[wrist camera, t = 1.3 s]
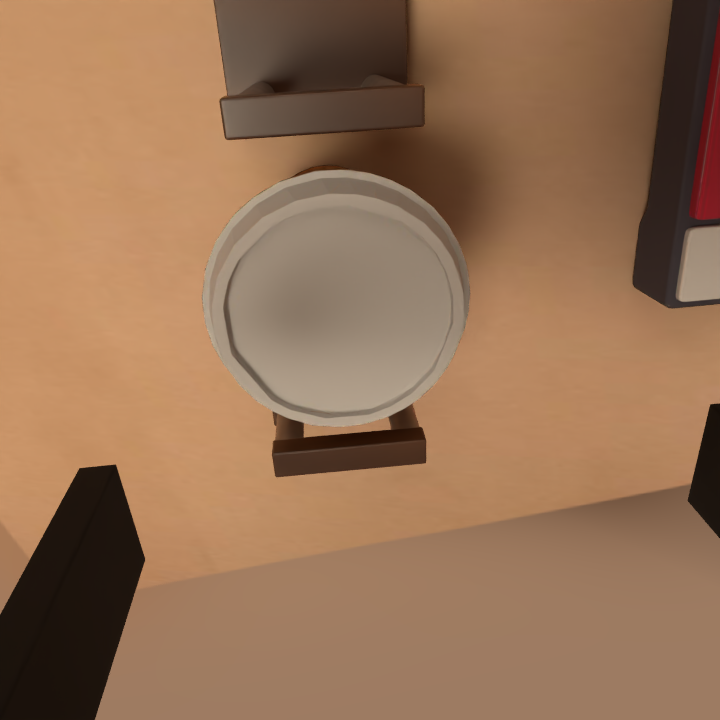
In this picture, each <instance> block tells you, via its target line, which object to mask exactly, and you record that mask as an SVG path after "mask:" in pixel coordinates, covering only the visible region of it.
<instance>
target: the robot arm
mask: <svg viewBox="0 0 720 720" xmlns="http://www.w3.org/2000/svg"><path fill="white" fill-rule="evenodd" d="M688 502H689V503H690V504H691V505H692V506H693V508H694V509H695V510H696V511H697V512H698V513H699V514H700V516H701V517H702V518H703V519H704V520H705V522H706V523H707V524H708V525H709V526H710V527H711V529H712V530H713V531H714V532H715V533H716V534H717V536H718V537H719V538H720V404H710V408H709V412H708V416H707V421H706V425H705V429H704V433H703V438H702V442H701V446H700V450H699V455H698V459H697V463H696V467H695V472H694V476H693V480H692V484H691V489H690V493H689V497H688ZM144 562H145V557H144V554H143V551H142V547H141V544H140V541H139V538H138V534H137V531H136V528H135V525H134V522H133V518H132V515H131V512H130V509H129V505H128V502H127V499H126V496H125V492H124V489H123V486H122V483H121V480H120V476H119V473H118V470H117V467H116V465H107V466H97V467H87V468H79V470H78V472H77V474H76V476H75V478H74V479H73V481H72V483H71V485H70V487H69V489H68V491H67V492H66V494H65V496H64V498H63V500H62V502H61V503H60V505H59V507H58V509H57V511H56V513H55V515H54V516H53V518H52V520H51V522H50V524H49V526H48V527H47V529H46V531H45V533H44V535H43V537H42V539H41V540H40V542H39V544H38V546H37V548H36V550H35V551H34V553H33V555H32V557H31V559H30V561H29V563H28V565H27V566H26V568H25V570H24V572H23V574H22V575H21V578H20V579H19V581H18V583H17V585H16V587H15V589H14V590H13V592H12V594H11V596H10V598H9V599H8V602H7V603H6V605H5V607H4V609H3V611H2V613H1V614H0V720H95V717H96V714H97V711H98V708H99V705H100V701H101V698H102V695H103V692H104V689H105V686H106V682H107V679H108V676H109V673H110V670H111V666H112V663H113V660H114V657H115V654H116V651H117V647H118V644H119V641H120V637H121V635H122V631H123V628H124V625H125V622H126V619H127V616H128V612H129V609H130V606H131V603H132V600H133V597H134V593H135V590H136V587H137V584H138V581H139V577H140V574H141V571H142V568H143V565H144Z"/></svg>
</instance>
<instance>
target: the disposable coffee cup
mask: <svg viewBox="0 0 720 720" xmlns="http://www.w3.org/2000/svg"><path fill="white" fill-rule="evenodd" d="M469 300H470V286H469V275H468V270H467V265H466V262H465V259H464V256H463V253H462V250H461V247H460V245H459V243H458V241H457V239H456V238H455V236H454V234H453V232H452V231H451V229H450V227H449V226H448V224H447V223H446V222H445V221H444V219H443V218H442V217H441V216H440V215H439V213H438V212H437V211H436V210H435V209H434V208H433V207H432V206H431V205H430V204H428V203H427V202H426V201H425V200H423V199H422V198H421V197H420V196H418V195H417V194H416V193H414V192H413V191H412V190H410V189H408V188H406V187H404V186H402V185H400V184H398V183H396V182H394V181H392V180H389V179H387V178H384V177H381V176H379V175H376V174H371V173H366V172H360V171H354V170H350V169H347V168H343V167H339V166H318V167H312V168H309V169H307V170H305V171H302V172H300V173H298V174H296V175H295V176H293V177H292V178H290V179H286V180H283V181H280V182H278V183H277V184H275V185H273V186H271V187H270V188H268V189H266V190H264V191H262V192H261V193H259V194H258V195H256V196H255V197H254V198H252V199H251V200H250V201H249V202H248V203H246V204H245V205H244V206H243V207H241V208H240V209H239V210H238V211H237V213H236V214H235V215H234V216H233V217H232V218H231V220H230V221H229V222H228V224H227V225H226V226H225V228H224V229H223V231H222V232H221V234H220V236H219V237H218V239H217V240H216V242H215V245H214V247H213V250H212V253H211V255H210V258H209V260H208V263H207V266H206V268H205V276H204V285H203V294H202V301H203V310H204V318H205V324H206V327H207V330H208V333H209V336H210V339H211V342H212V345H213V347H214V348H215V350H216V352H217V354H218V355H219V357H220V359H221V361H222V362H223V364H224V365H225V366H226V368H227V369H228V370H229V371H230V373H231V374H232V375H233V377H234V378H235V379H236V381H237V382H238V384H239V385H240V386H241V387H242V388H243V389H244V390H245V391H246V392H247V393H248V394H250V395H251V396H252V397H253V398H254V399H255V400H256V401H257V402H259V403H261V404H262V405H264V406H265V407H267V408H268V409H270V410H271V411H273V412H275V413H278V414H280V415H282V416H284V417H286V418H289V419H292V420H296V421H299V422H303V423H306V424H310V425H315V426H332V427H345V426H354V425H362V424H366V423H370V422H373V421H376V420H380V419H383V418H386V417H389V416H391V415H393V414H395V413H397V412H399V411H400V410H402V409H404V408H406V407H408V406H409V405H411V404H412V403H414V402H415V401H417V400H418V399H419V398H420V397H421V396H422V395H424V394H425V393H426V392H427V391H428V390H429V389H430V388H431V387H432V386H433V385H434V384H435V383H436V382H437V380H438V379H439V378H440V376H441V375H442V374H443V372H444V371H445V370H446V368H447V367H448V365H449V363H450V361H451V359H452V358H453V356H454V354H455V351H456V349H457V346H458V343H459V341H460V338H461V336H462V334H463V331H464V329H465V325H466V320H467V316H468V311H469Z"/></svg>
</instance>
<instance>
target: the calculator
mask: <svg viewBox="0 0 720 720" xmlns="http://www.w3.org/2000/svg"><path fill="white" fill-rule="evenodd" d="M633 285H634V287H635V288H637V289H638V290H640V291H641V292H643V293H644V294H646V295H648V296H649V297H651V298H653V299H654V300H656V301H658V302H659V303H661V304H663V305H664V306H666V307H668V308H683V307H693V306H703V305H714V304H720V0H673V6H672V14H671V23H670V31H669V39H668V47H667V55H666V63H665V71H664V79H663V88H662V96H661V104H660V112H659V120H658V128H657V136H656V144H655V153H654V161H653V169H652V177H651V185H650V193H649V201H648V208H647V210H646V212H645V214H644V216H643V218H642V220H641V222H640V226H639V234H638V243H637V251H636V259H635V268H634V276H633Z"/></svg>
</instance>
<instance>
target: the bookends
mask: <svg viewBox="0 0 720 720" xmlns="http://www.w3.org/2000/svg"><path fill="white" fill-rule="evenodd" d="M214 5H215V12H216V19H217V26H218V33H219V40H220V47H221V54H222V61H223V68H224V75H225V82H226V89H227V96H224V97H222V98H221V99H220V101H219V102H220V108H221V115H222V122H223V129H224V135H225V138H226V139H227V140H237V139H252V138H267V137H281V136H296V135H311V134H326V133H341V132H355V131H370V130H385V129H400V128H414V127H423V126H424V124H425V88H424V86H423V85H420V84H407V30H406V0H214ZM273 418H274V424H275V426H276V437H275V440H274V441H273V449H272V458H273V464H274V471H275V476H276V477H284V476H295V475H305V474H316V473H327V472H337V471H348V470H359V469H369V468H380V467H391V466H401V465H412V464H422V463H426V438H425V435H424V432H423V429H422V427H419V424H418V421H417V417H416V414H415V411H414V408H413V403H412V404H411V405H409V406H408V407H406V408H404V409H402V410H400V411H399V412H397V413H395V414H393V415H391V416H389V422H390V426H391V430H382V431H371V432H361V433H350V434H339V435H328V436H317V437H306V438H304V423H303V422H299V421H296V420H292V419H289V418H286V417H284V416H282V415H280V414H278V413H275V412H273Z"/></svg>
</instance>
